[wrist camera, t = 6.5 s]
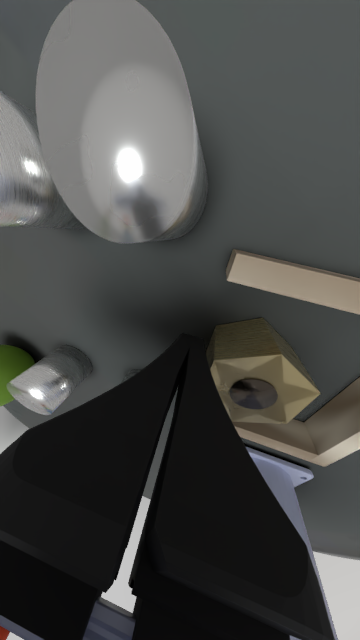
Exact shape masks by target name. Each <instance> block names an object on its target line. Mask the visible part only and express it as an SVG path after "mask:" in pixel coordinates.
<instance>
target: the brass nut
mask: <svg viewBox="0 0 360 640" xmlns="http://www.w3.org/2000/svg"><path fill="white" fill-rule="evenodd" d="M206 356H207V360H208V364H209V367H210V371H211V374H212V377H213V379H214V382H215V385H216V387H217V390H218V393H219V395H220V397H221V400H222V402H223V404H224V406H225V408H226V411H227V413H228V415H229V417H230V419H231V421H232V422H252V423H273V424H287V423H288V422H289V421H290V420H292V419H293V418H294V417H295V416H296V415H297V414H298V413H299V412H301V411H302V410H303V409H304V408H305V407H306V406H307V405H308V404H310V403H311V402H312V401H313V400H314V399H315V398H316V397H317V396H318V395H320V394H321V393H320V391H319V390H318V388H317V387H316V385H315V384H314V382H313V380H312V379H311V377H310V376H309V374H308V372H307V371H306V369H305V368H304V366H303V364H302V363H301V361H300V360H299V358H298V357H297V355H296V353H295V352H294V350H293V349H292V347H291V346H290V345H289V344H288V343H287V342H286V341H285V340H284V339H283V338H282V337H281V336H280V335H279V334H278V333H277V332H276V331H275V330H274V329H273V327H272V326H271V325H270V324H269V323H268V322H267V321H266V320H265V319H264V318H258V319H252V320H246V321H240V322H234V323H228V324H222V325H216V327H215V329H214V332H213V335H212V337H211V340H210V343H209V345H208V348H207V351H206Z"/></svg>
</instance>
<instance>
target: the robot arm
mask: <svg viewBox="0 0 360 640" xmlns="http://www.w3.org/2000/svg"><path fill="white" fill-rule="evenodd" d="M178 385H179V386H178ZM177 387H178V391H177V397H176V402H175V408H174V413H173V418H172V423H171V427H170V431H169V434H168V438H167V442H166V446H165V449H164V453H163V457H162V460H161V464H160V468H159V472H158V475H157V479H156V483H155V486H154V490H153V494H152V497H151V501H150V505H149V508H148V512H147V516H146V519H145V523H144V527H143V530H142V534H141V538H140V541H139V545H138V549H137V553H136V556H135V560H134V564H133V568H132V571H131V575H130V579H129V582H128V584H129V586H130V587H131V588H133V589H132V594H133V595H135V596H137V598H136V602H135V606H134V611H133V613H131V612H129V611H127V610H125V609H123V608H121V607H119V606H117V605H115V604H113V603H111V602H109V601H107V600H105V599H103V598H101V594H102V591H103V592H105V593H106V592H107V590H108V589H109V588H110V587H111V586H112V584H113V582H114V580H116V578H117V575H118V571H119V569H120V565H121V562H122V559H123V555H124V552H125V549H126V548H127V545H128V542H129V538H130V535H131V532H132V528H133V525H134V521H135V518H136V515H137V512H138V508H139V504H140V502H141V498H142V495H143V492H144V488H145V485H146V481H147V478H148V475H149V471H150V468H151V465H152V461H153V458H154V455H155V451H156V448H157V445H158V441H159V438H160V435H161V431H162V428H163V425H164V422H165V419H166V416H167V413H168V410H169V408H170V405H171V403H172V400H173V398H174V395H175V392H176V390H177ZM313 477H314V476H313V474H312V471H311V470H309V469H307V468H304V467H301V466H298V465H296V464H293V463H290V462H287V461H285V460H282V459H279V458H276V457H273V456H271V455H268V454H265V453H262V452H260V451H257V450H254V449H251V448H249V447H246V446H245V445H244V443H243V441H242V439H241V438H240V436H239V434H238V432H237V430H236V428H235V427H234V425H233V423H232V421H231V419H230V417H229V415H228V413H227V411H226V408H225V406H224V404H223V402H222V400H221V397H220V395H219V393H218V390H217V387H216V385H215V382H214V379H213V377H212V374H211V371H210V367H209V364H208V360H207V356H206V352H205V347H204V340H203V339H202V338H199V337H195V336H192V335H188V334H185V333H182V334H180V336H179V337H178V338H177V340H176V341H175V342H174V343H173V344H172V345H171V346H170V347H169V348H168V349H167V350H166V351H165V352H164V353H162V354H161V355H160V356H159V357H158V358H157V359H155V360H154V361H153V362H152V363H150V364H149V365H148V366H146V367H145V368H144V369H142V370H141V371H140V372H138V373H137V374H135V375H134V376H132V377H131V378H129V379H127V380H126V381H124V382H123V383H121V384H119V385H118V386H116V387H114V388H113V389H111V390H109V391H107V392H105V393H103V394H102V395H100V396H98V397H96V398H94V399H92V400H90V401H88V402H86V403H85V404H83V405H81V406H79V407H77V408H74V409H72V410H70V411H68V412H66V413H64V414H61V415H59V416H57V417H55V418H53V419H51V420H48V421H46V422H44V423H42V424H40V425H37V426H35V427H33V428H31V429H29V430H27V431H26V432H25V433H24V434H23V435H22V436H20V437H19V438H18V439H17V440H16V441H15V442H13V443H12V444H11V445H10V446H9V447H8V448H7V449H6V450H4V451H3V452H2V453H1V454H0V626H1V627H3V628H5V629H7V630H8V631H10V632H12V633H14V634H15V635H17V636H19V637H21V638H22V639H24V640H338V638H337V635H336V632H335V628H334V624H333V621H332V617H331V614H330V611H329V607H328V604H327V600H326V597H325V593H324V590H323V586H322V583H321V579H320V576H319V572H318V569H317V566H316V562H315V559H314V555H313V552H312V548H311V545H310V541H309V538H308V534H307V531H306V528H305V524H304V521H303V517H302V514H301V510H300V507H299V503H298V500H297V496H296V493H295V489H294V487H296V486H298V485H300V484H302V483H304V482H306V481H308V480H310V479H312V478H313Z"/></svg>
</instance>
